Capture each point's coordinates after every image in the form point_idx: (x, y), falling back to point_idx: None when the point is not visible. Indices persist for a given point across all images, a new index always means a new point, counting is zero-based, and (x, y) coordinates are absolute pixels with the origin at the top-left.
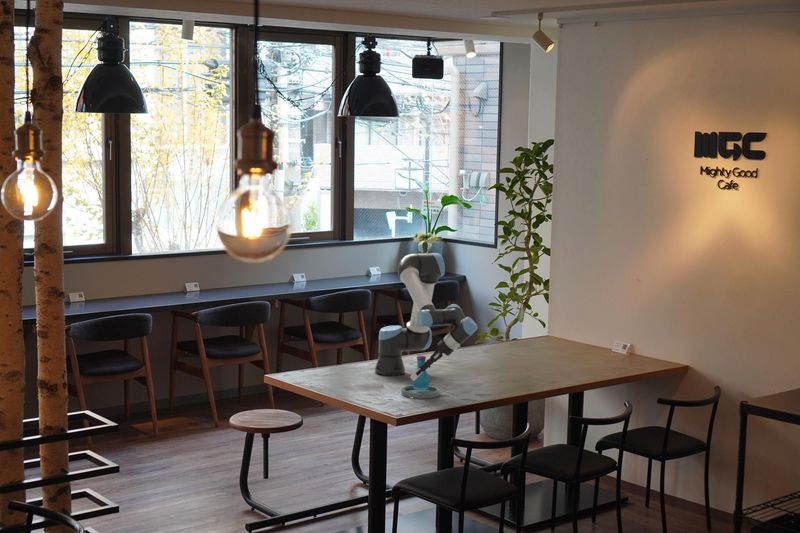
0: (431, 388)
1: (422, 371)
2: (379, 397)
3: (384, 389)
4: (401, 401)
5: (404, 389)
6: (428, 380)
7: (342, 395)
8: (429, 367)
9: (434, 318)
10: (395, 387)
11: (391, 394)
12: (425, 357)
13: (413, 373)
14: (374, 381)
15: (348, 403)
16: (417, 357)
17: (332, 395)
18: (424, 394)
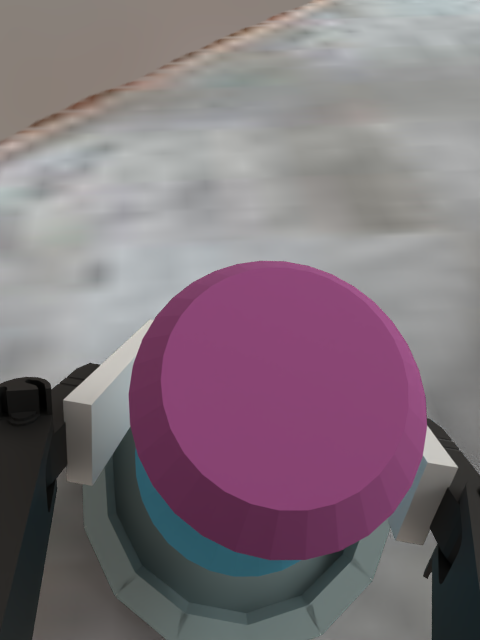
0: (350, 547)
1: (72, 458)
2: (139, 225)
3: (320, 239)
4: (35, 334)
5: None
6: (171, 542)
7: (174, 104)
8: (428, 574)
9: None
10: (384, 287)
11: None
12: (228, 529)
13: (126, 341)
14: (474, 193)
15: (30, 125)
16: (206, 279)
17: (172, 80)
18: (85, 492)
